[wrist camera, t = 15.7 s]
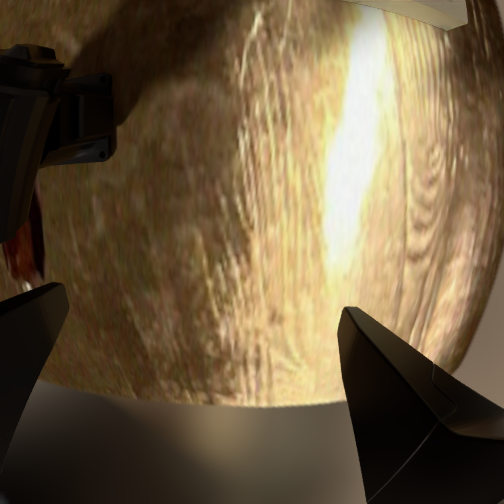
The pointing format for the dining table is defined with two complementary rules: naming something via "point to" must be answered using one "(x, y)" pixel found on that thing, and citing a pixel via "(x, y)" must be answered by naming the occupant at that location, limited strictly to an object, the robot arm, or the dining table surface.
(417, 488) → the robot arm
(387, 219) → the dining table surface
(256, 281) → the dining table surface
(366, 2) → the tray
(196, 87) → the dining table surface
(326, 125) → the dining table surface
